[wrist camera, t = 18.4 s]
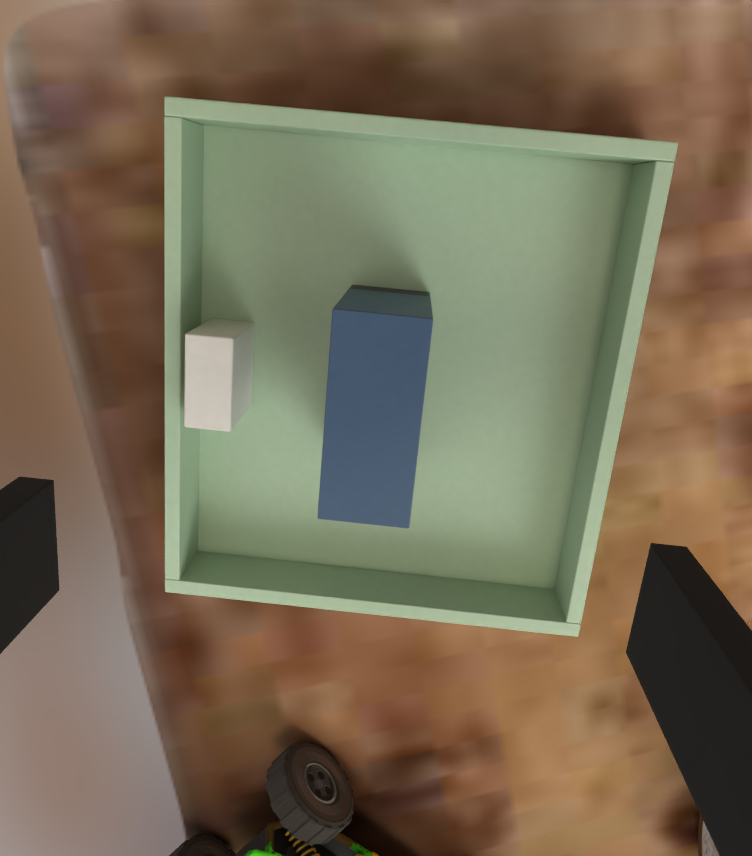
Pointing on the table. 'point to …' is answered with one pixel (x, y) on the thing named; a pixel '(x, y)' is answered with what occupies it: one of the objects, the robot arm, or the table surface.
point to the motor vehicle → (297, 811)
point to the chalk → (218, 374)
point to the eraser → (374, 405)
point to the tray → (448, 358)
